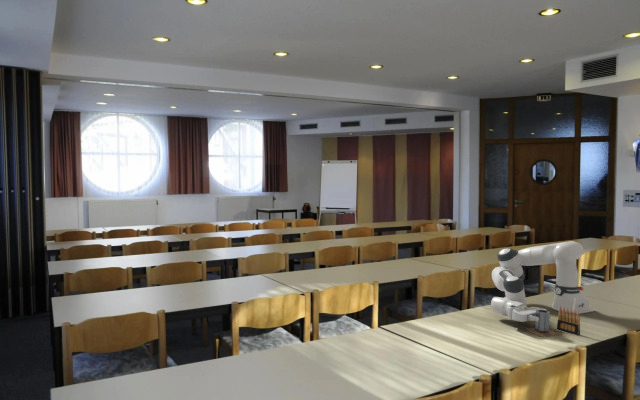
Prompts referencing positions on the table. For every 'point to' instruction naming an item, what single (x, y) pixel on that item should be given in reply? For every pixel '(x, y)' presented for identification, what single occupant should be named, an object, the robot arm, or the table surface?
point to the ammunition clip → (568, 321)
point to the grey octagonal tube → (542, 320)
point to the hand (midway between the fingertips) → (544, 318)
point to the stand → (541, 332)
